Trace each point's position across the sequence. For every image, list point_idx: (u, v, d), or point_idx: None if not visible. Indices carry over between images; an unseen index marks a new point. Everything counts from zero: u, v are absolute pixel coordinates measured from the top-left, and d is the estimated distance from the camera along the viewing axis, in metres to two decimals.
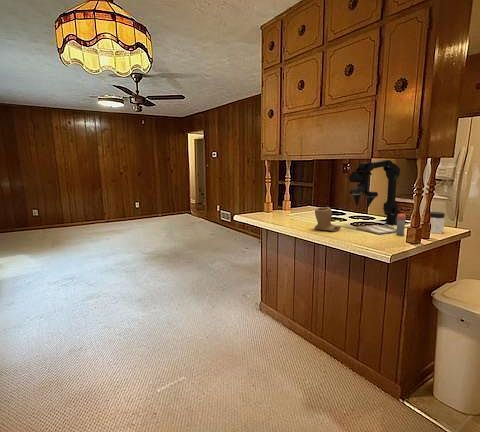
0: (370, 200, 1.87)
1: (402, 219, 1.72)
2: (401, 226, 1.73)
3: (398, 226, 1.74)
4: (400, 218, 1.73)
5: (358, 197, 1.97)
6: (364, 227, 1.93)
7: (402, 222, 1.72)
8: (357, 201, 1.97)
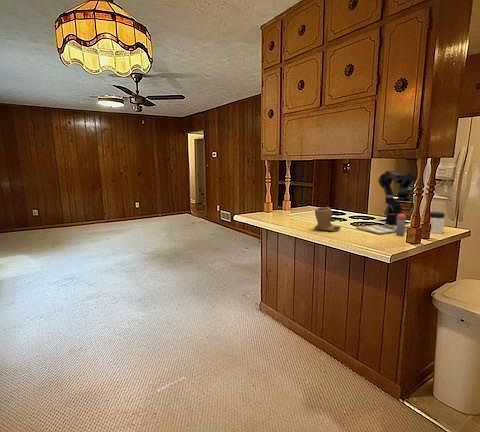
0: (412, 206, 1.80)
1: (402, 219, 1.72)
2: (401, 226, 1.73)
3: (398, 226, 1.74)
4: (400, 218, 1.73)
5: None
6: (364, 227, 1.93)
7: (402, 222, 1.72)
8: (393, 207, 1.84)
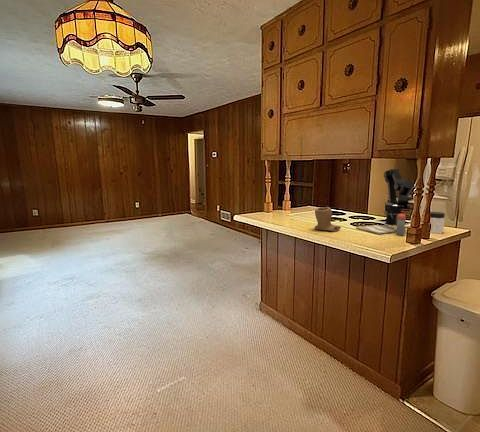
0: None
1: (402, 219, 1.72)
2: (401, 226, 1.73)
3: (398, 226, 1.74)
4: (400, 218, 1.73)
5: (392, 212, 1.82)
6: (364, 227, 1.93)
7: (402, 222, 1.72)
8: (393, 215, 1.80)
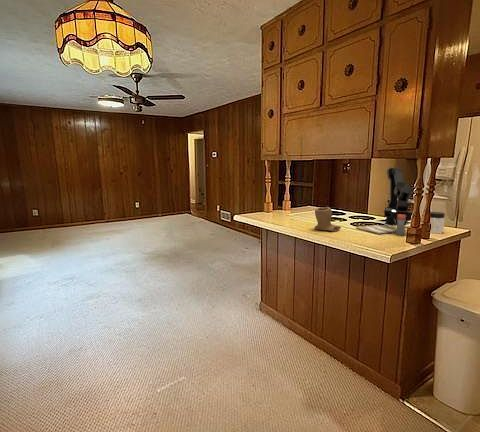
0: (407, 219, 1.74)
1: (402, 219, 1.72)
2: (401, 226, 1.73)
3: (398, 226, 1.74)
4: (400, 218, 1.73)
5: None
6: (364, 227, 1.93)
7: (402, 222, 1.72)
8: None
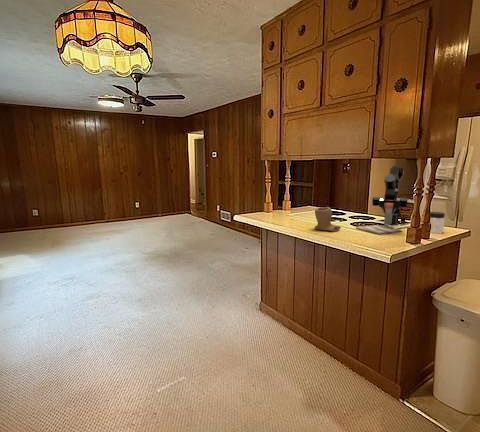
0: (395, 208, 1.77)
1: (390, 207, 1.74)
2: (389, 214, 1.75)
3: (386, 214, 1.76)
4: (388, 206, 1.74)
5: None
6: (364, 227, 1.93)
7: (390, 210, 1.74)
8: (384, 209, 1.78)
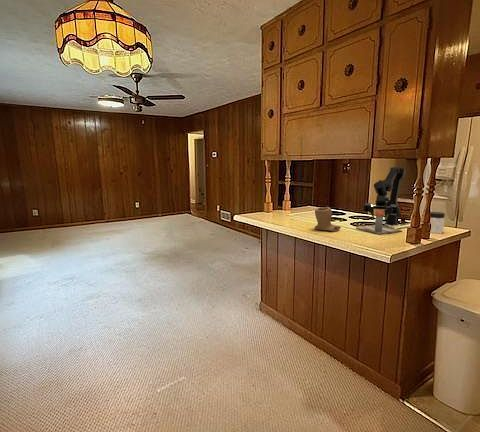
0: (387, 214, 1.79)
1: (380, 216, 1.78)
2: (379, 222, 1.78)
3: (376, 223, 1.79)
4: (378, 215, 1.78)
5: (373, 212, 1.84)
6: (364, 227, 1.93)
7: (380, 219, 1.78)
8: (373, 215, 1.81)
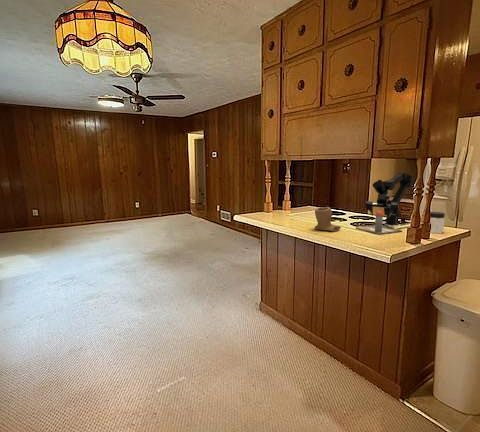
0: (391, 212, 1.86)
1: (380, 216, 1.77)
2: (379, 223, 1.78)
3: (376, 223, 1.79)
4: (378, 215, 1.78)
5: (372, 210, 1.92)
6: (364, 227, 1.93)
7: (380, 219, 1.78)
8: (372, 213, 1.90)
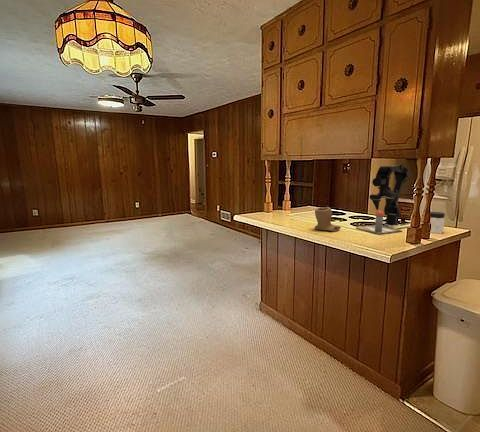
0: None
1: (380, 216, 1.77)
2: (379, 223, 1.78)
3: (376, 223, 1.79)
4: (378, 215, 1.78)
5: None
6: (364, 227, 1.93)
7: (381, 219, 1.78)
8: None
